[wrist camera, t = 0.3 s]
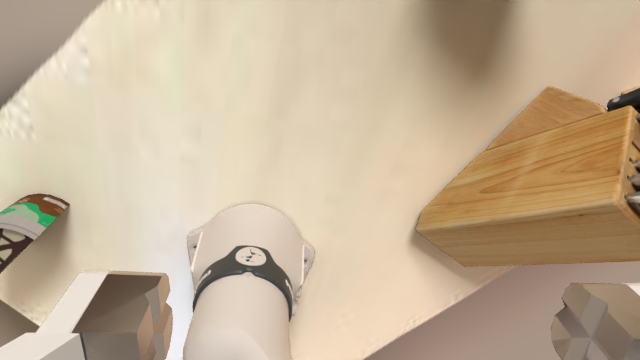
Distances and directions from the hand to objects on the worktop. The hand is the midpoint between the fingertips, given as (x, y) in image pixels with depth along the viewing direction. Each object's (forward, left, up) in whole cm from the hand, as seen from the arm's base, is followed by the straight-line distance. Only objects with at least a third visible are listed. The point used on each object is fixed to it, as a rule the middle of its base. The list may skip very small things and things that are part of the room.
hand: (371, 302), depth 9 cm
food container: (-30, +33, -48) cm, 66 cm away
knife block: (-10, -33, -48) cm, 59 cm away
